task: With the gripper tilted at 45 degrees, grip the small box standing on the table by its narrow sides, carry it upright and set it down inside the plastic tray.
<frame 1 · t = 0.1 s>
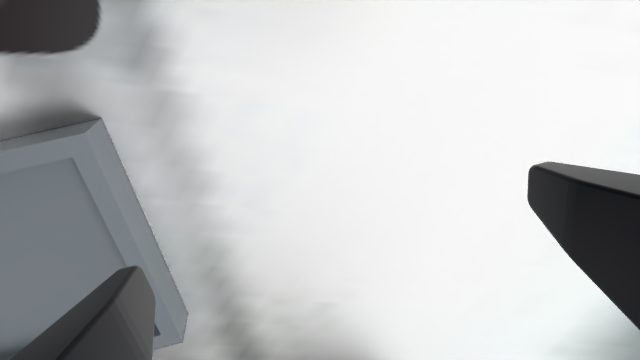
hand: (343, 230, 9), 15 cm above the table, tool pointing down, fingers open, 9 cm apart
tray: (32, 256, 24), on the table
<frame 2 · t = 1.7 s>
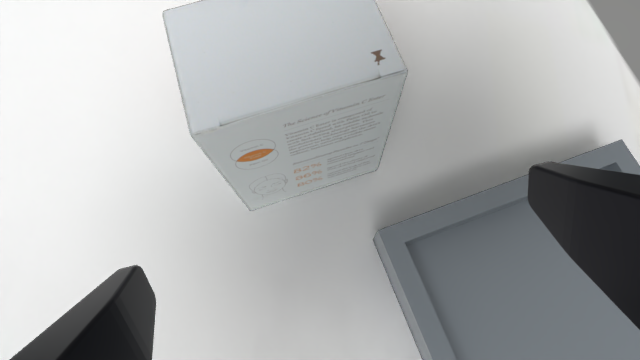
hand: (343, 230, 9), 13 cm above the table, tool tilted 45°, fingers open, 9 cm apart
small box: (300, 152, 25), on the table
tray: (549, 318, 21), on the table
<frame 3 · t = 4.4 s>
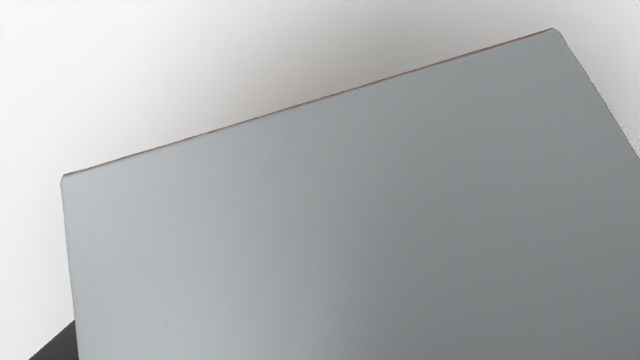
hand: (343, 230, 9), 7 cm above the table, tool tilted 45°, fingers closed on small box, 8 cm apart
small box: (348, 303, 15), on the table, touching gripper
when the fingers open (9 cm above the table, at t = 9.0 s): small box drops 2 cm, resting on tray.
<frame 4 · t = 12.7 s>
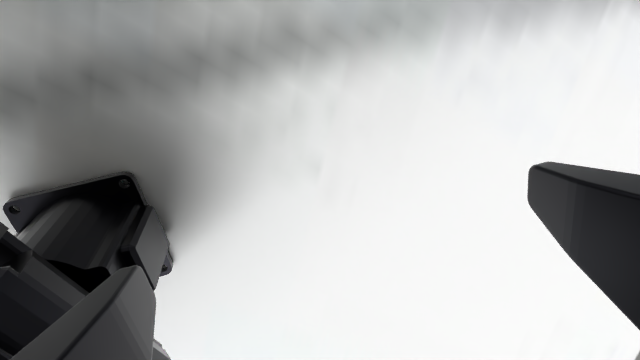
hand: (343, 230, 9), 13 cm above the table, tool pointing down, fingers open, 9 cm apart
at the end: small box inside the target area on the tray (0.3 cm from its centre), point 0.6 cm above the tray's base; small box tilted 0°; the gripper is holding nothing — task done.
